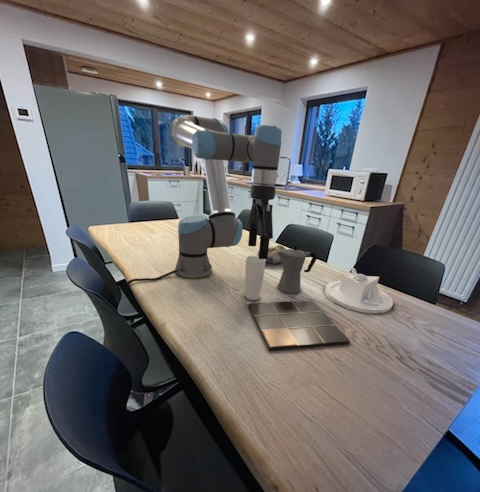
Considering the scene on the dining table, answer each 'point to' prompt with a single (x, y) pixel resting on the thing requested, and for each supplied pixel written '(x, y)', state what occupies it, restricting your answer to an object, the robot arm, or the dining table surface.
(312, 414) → the dining table surface
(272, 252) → the geode
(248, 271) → the drinking glass
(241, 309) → the dining table surface
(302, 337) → the board
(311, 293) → the dining table surface
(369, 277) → the dish
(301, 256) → the coffeepot
